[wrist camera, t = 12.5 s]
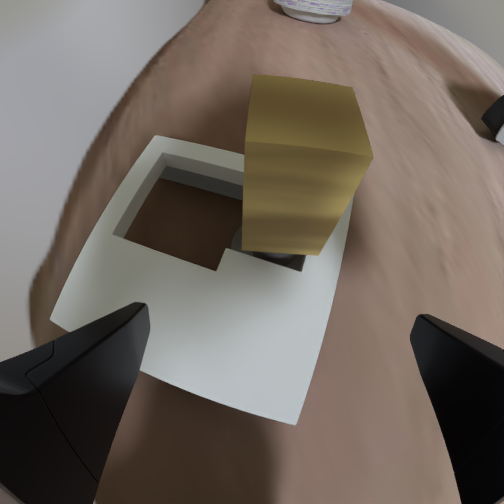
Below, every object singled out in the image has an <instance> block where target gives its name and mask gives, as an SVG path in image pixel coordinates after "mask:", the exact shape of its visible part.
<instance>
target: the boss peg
mask: <svg viewBox="0 0 504 504" xmlns="http://www.w3.org/2000/svg"><path fill="white" fill-rule="evenodd" d="M372 159H373V153H372V149H371V146H370V142H369V139H368V135H367V132H366V128H365V125H364V121H363V118H362V115H361V112H360V109H359V106H358V103H357V100H356V97H355V94H354V91H353V88H352V87H347V86H342V85H337V84H331V83H325V82H319V81H313V80H306V79H298V78H290V77H281V76H270V75H257V74H253V76H252V85H251V93H250V101H249V110H248V118H247V127H246V136H245V152H244V182H243V215H242V225H241V226H240V227H239V228H238V230H237V231H236V233H235V235H234V237H233V240H232V244H231V250H234V251H237V252H240V253H243V254H246V255H250V256H253V257H256V258H259V259H262V260H265V261H268V262H271V263H274V264H277V265H280V266H284V267H287V268H290V269H293V270H296V271H300V268H301V264H302V261H303V257H304V255H315V256H319V254H320V252H321V251H322V249H323V247H324V246H325V244H326V242H327V240H328V239H329V237H330V235H331V234H332V232H333V230H334V228H335V227H336V225H337V223H338V221H339V220H340V218H341V216H342V214H343V213H344V211H345V209H346V207H347V205H348V204H349V202H350V200H351V198H352V196H353V194H354V193H355V191H356V189H357V187H358V185H359V183H360V182H361V180H362V178H363V176H364V174H365V172H366V170H367V168H368V167H369V165H370V163H371V161H372Z"/></svg>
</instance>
